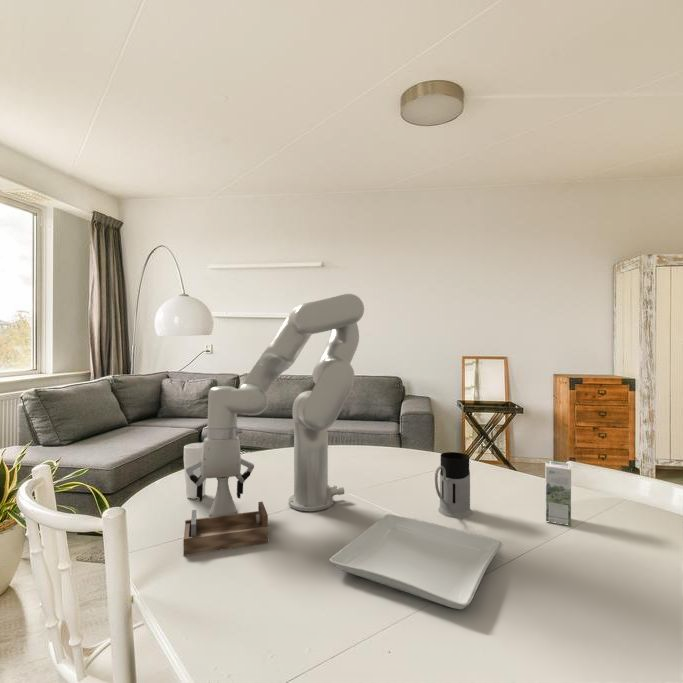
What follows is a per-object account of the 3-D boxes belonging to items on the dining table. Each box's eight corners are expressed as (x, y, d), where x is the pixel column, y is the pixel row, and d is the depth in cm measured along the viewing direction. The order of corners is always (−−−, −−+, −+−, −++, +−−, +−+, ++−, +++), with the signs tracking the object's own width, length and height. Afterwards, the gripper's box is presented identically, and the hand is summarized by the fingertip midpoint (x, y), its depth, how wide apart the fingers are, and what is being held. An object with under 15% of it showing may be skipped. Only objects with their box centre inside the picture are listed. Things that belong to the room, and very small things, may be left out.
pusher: (196, 529, 100) (196, 509, 100) (195, 545, 92) (195, 524, 92) (191, 530, 100) (191, 510, 100) (191, 546, 92) (191, 524, 92)
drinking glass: (178, 498, 123) (178, 447, 123) (194, 491, 130) (194, 441, 130) (197, 501, 121) (197, 449, 121) (212, 493, 127) (212, 443, 127)
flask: (229, 521, 108) (229, 481, 108) (203, 518, 109) (203, 479, 109) (241, 510, 115) (241, 473, 115) (217, 507, 116) (217, 471, 116)
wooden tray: (262, 524, 106) (262, 500, 106) (268, 543, 96) (268, 516, 96) (185, 534, 100) (185, 509, 100) (183, 555, 90) (183, 527, 90)
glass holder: (477, 511, 114) (477, 455, 114) (451, 527, 104) (451, 466, 104) (448, 502, 120) (448, 449, 120) (421, 517, 110) (420, 460, 110)
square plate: (468, 628, 68) (468, 603, 68) (326, 577, 82) (326, 557, 82) (503, 556, 91) (503, 537, 91) (387, 526, 105) (387, 511, 105)
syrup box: (569, 518, 109) (569, 462, 110) (571, 527, 104) (571, 468, 104) (545, 514, 112) (545, 459, 112) (545, 523, 107) (545, 465, 107)
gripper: (253, 429, 118) (251, 490, 118) (187, 431, 113) (185, 496, 113) (256, 435, 111) (254, 500, 111) (186, 437, 106) (184, 506, 106)
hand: (219, 498), depth 112 cm, fingers open, 9 cm apart
